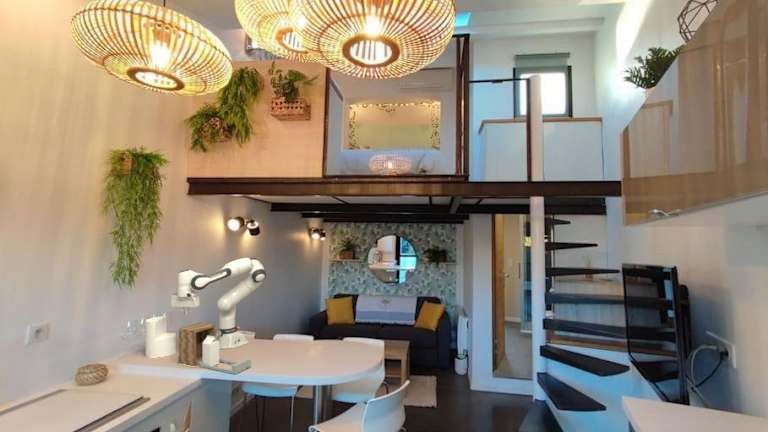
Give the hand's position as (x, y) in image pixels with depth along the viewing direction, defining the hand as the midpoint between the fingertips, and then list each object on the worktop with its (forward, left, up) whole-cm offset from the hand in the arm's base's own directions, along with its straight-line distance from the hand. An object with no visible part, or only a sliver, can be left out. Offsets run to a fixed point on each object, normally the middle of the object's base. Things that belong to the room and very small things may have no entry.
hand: (185, 313), depth 256 cm
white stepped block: (+6, -26, -31) cm, 41 cm away
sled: (-10, +36, -31) cm, 48 cm away
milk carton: (-6, +25, -31) cm, 41 cm away
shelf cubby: (-3, +12, -31) cm, 33 cm away
